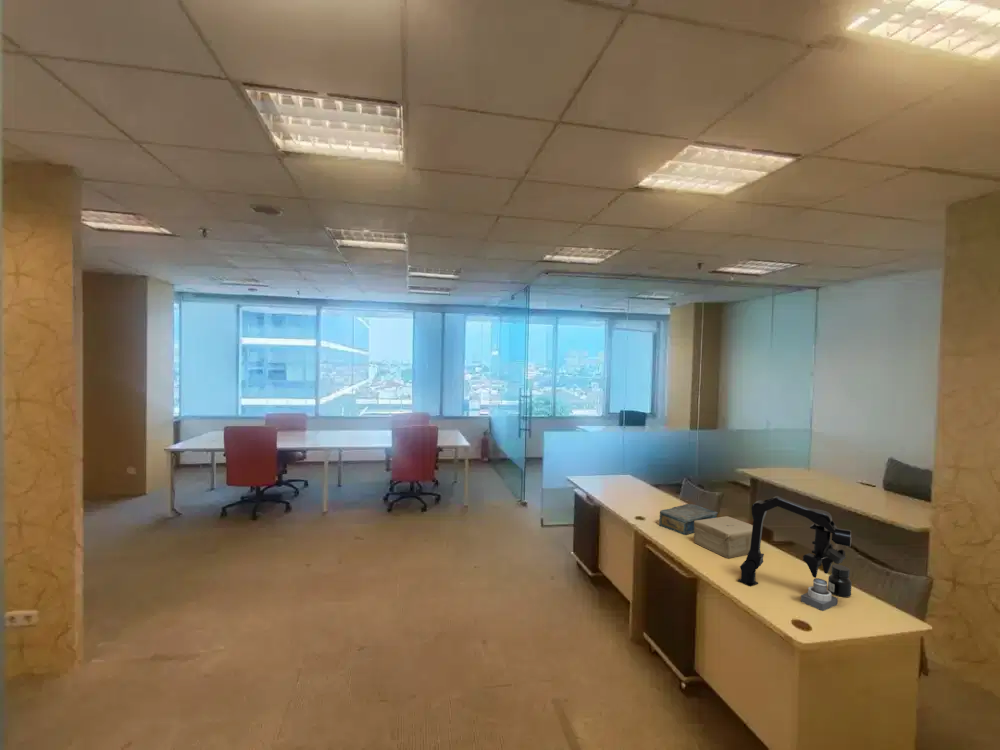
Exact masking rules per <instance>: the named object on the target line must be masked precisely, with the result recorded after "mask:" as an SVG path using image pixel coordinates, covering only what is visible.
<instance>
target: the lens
mask: <svg viewBox="0 0 1000 750" xmlns="http://www.w3.org/2000/svg"><path fill="white" fill-rule="evenodd" d="M812 583H813V585H812V586H813V592H816V593H818V594H823V595H826V593H827V590H828V581H827V580H825V579H823V578H820V577H819V578H818V577H816V578H813V581H812Z"/></svg>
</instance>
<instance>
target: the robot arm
mask: <svg viewBox="0 0 1000 750" xmlns="http://www.w3.org/2000/svg"><path fill="white" fill-rule="evenodd" d="M777 507H778V508H781V509H784V510H786V511H789V512H792V513H793V514H796V515H799V516H802V517H805V518H806V519H808V520H809V521H811V522H812V523H813V524H810V527H809V529H811V530H814V540H812V542H811V543H812V545H813V546H814V547H813V549H812V550H811V553H806V554H804V555H802V561H803V562H804V563H806V565H807V567H808V569H809V571H810V573H811V576H812V578H813V579H815V578H817V576H818V571H819V567H821V566H822V568H823V572H824V574H829V571H830V568H832V565H833V563H834V564H836V565H840V564H842V563H843V561H844V560H845V559H846V558H847V557H846V556H847V555H846V551H845V550H843V549H842V548H840V549H839V550H838V549H835V548H833V547H834V545H833V544H832V543H831V541H832V542H833V543H834V544H836V545H840V546H845V547H851V546H852V539H853V538H852V530H851V529H844V528H839V527H837V525H836V522H834V520H833V516H832V515H831V513H830V512H828V511H826V510H823V509H818V508H812V507H807V506H805V505H802V504H800V503H796V502H794V501H791V500H789V499H786V498H784V497H781V496H779V495H776V496H774V497H771V498H768V499H764V500H761V499H760V500H757V501H755V502H754V503H752V505H751V517H752V522H753V523H752V525H753V528H752V537H751V546H750V551H749V553H748V555H746V559H745V560H744V561H743V562H742V563H741V565H740V566H739V568H740V571H741V572H740V573H741V574H740V575H741V576H740V578H738V579H737V581H738V582H740V583H742V584H745V585H747V586H748V587H752V586H755V585H757V584H759V582H758V581H756V573H757V571H756V570H758V569H759V567H761V565H763V563H764V556H765V554H764V553H761V543H762V535H763V528H764V520H765V518H766V516H767V512H768V511H770V510H772V509H774V508H777Z"/></svg>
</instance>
